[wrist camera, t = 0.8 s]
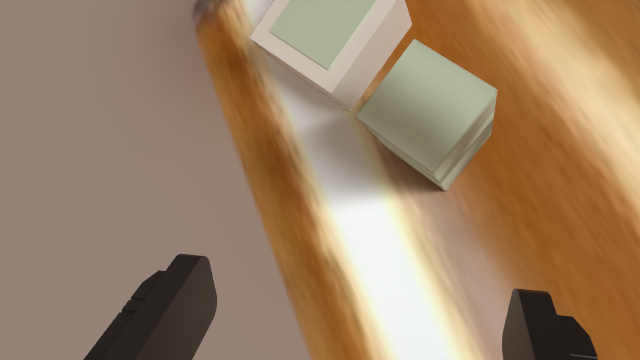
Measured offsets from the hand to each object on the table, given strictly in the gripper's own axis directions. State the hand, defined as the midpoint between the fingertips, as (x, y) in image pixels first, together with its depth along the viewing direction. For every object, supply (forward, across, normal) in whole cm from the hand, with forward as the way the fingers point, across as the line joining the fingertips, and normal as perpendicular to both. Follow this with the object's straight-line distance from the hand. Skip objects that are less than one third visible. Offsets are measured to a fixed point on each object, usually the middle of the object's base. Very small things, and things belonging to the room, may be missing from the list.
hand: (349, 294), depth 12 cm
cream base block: (+27, +4, 0) cm, 28 cm away
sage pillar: (+21, -3, +6) cm, 22 cm away
